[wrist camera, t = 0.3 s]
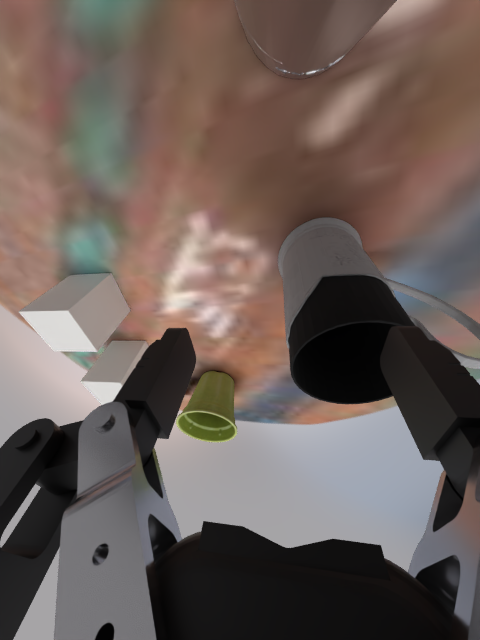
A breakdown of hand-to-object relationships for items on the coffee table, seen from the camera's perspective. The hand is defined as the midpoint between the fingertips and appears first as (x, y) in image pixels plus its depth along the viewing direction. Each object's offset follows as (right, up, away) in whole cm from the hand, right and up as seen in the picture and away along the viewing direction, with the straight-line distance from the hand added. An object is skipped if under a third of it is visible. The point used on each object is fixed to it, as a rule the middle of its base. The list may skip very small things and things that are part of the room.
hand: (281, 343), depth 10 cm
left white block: (-21, +5, +22) cm, 31 cm away
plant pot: (-6, -10, +32) cm, 34 cm away
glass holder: (+10, +7, +15) cm, 20 cm away
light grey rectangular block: (-19, -5, +29) cm, 36 cm away
